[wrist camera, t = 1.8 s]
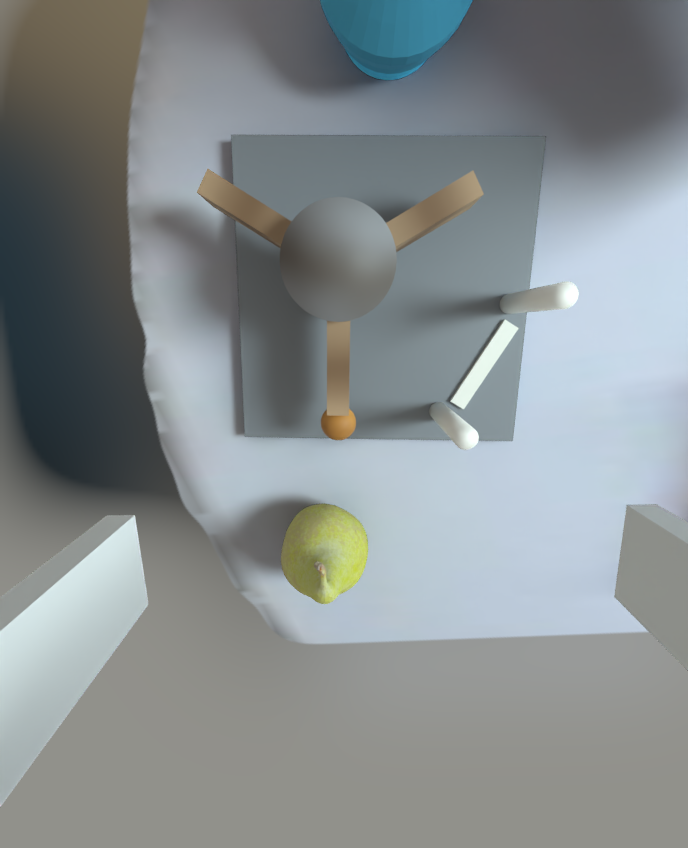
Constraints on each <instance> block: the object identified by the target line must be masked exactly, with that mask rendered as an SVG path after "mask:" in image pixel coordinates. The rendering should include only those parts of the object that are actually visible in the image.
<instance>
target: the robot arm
mask: <svg viewBox="0 0 688 848" xmlns="http://www.w3.org/2000/svg"><path fill="white" fill-rule="evenodd" d="M614 597H615V598H616V599H617V600H618V601H619V602H620V603H621V604H622V605H623V606H624V607H625V608H626V609H627V610H628V611H629V612H630V613H631V614H632V615H633V616H634V617H635V618H636V619H637V620H638V621H639V622H640V623H641V624H642V625H643V626H644V627H645V628H646V629H647V630H648V631H649V632H650V633H651V634H652V635H653V636H654V637H655V638H656V639H657V640H658V642H659V643H661V644H662V646H663V647H664V648H665V649H666V650H667V651H668V652H669V653H670V654H672V656H673V657H675V659H676V660H677V661H678V662H679V663H680V664H681V665H682V666H683V667H684V668H685V669H686V670H687V671H688V522H686V521H685V520H683V519H681V518H679V517H678V516H676V515H674V514H672V513H671V512H669V511H667V510H665V509H664V508H662V507H660V506H658V505H657V504H648V505H627V507H626V515H625V522H624V530H623V537H622V545H621V552H620V559H619V567H618V574H617V582H616V589H615V596H614ZM147 606H148V598H147V592H146V585H145V578H144V572H143V565H142V559H141V552H140V546H139V540H138V533H137V527H136V521H135V515H113V516H106V517H104V518H103V519H102V520H100V521H99V522H98V523H96V524H95V525H94V526H93V527H91V528H90V529H89V530H87V531H86V532H85V533H83V534H82V535H81V536H80V537H78V538H77V539H76V540H74V541H73V542H72V543H70V544H69V545H68V546H66V547H65V548H64V549H63V550H61V551H60V552H59V553H58V554H56V555H55V556H54V557H52V558H51V559H50V560H48V561H47V562H46V563H45V564H43V565H42V566H40V567H39V568H38V569H36V570H35V571H34V572H33V573H31V574H30V575H29V576H27V577H26V578H25V579H23V580H22V581H21V582H20V583H18V584H17V585H16V586H14V587H13V588H12V589H11V590H9V591H8V592H7V593H5V594H4V595H3V596H1V597H0V807H1V805H2V804H3V803H4V801H5V800H6V798H7V797H8V796H9V794H10V793H11V792H12V790H13V789H14V788H15V786H16V784H17V783H18V782H19V781H20V779H21V778H22V776H23V775H24V774H25V772H26V771H27V770H28V768H29V767H30V766H31V764H32V763H33V762H34V760H35V759H36V757H37V756H38V755H39V753H40V752H41V750H42V749H43V748H44V747H45V745H46V744H47V742H48V741H49V740H50V738H51V737H52V736H53V734H54V733H55V731H56V730H57V729H58V727H59V726H60V725H61V723H62V722H63V721H64V719H65V718H66V716H67V715H68V714H69V712H70V711H71V710H72V708H73V707H74V706H75V704H76V703H77V701H78V700H79V699H80V697H81V696H82V695H83V693H84V692H85V691H86V689H87V688H88V686H89V685H90V684H91V682H92V681H93V680H94V678H95V677H96V675H97V674H98V672H99V671H100V670H101V669H102V667H103V666H104V664H105V663H106V662H107V660H108V659H109V658H110V656H111V655H112V654H113V652H114V651H115V650H116V648H117V647H118V645H119V644H120V643H121V641H122V640H123V639H124V637H125V636H126V634H127V633H128V632H129V630H130V629H131V628H132V626H133V625H134V624H135V622H136V621H137V619H138V618H139V617H140V615H141V614H142V612H143V611H144V610H145V609H146V607H147Z"/></svg>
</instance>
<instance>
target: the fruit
mask: <svg viewBox="0 0 688 848" xmlns="http://www.w3.org/2000/svg"><path fill="white" fill-rule="evenodd" d="M367 555H368V540H367V535H366V532H365V530H364V528H363V526H362V524H361V523H360V522H359V521H358V519H356V518H355V517H354V516H353V515H352V514H350V513H349V512H347V511H345V510H343V509H341V508H339V507H337V506H335V505H329V504H316V505H311V506H308V507H306V508H304V509H303V510H301V511H300V512H299V513H298V514H297V515H296V516H295V517H294V519H293V520H292V522H291V523H290V525H289V527H288V529H287V532H286V535H285V538H284V542H283V546H282V552H281V565H282V570H283V572H284V575H285V577H286V579H287V580H288V581H289V583H290V584H291V585H292V586H293V587H294V588H295V589H296V590H298V591H299V592H300V593H302V594H304V595H307V596H309V597H311V598H312V599H314V600H315V601H316V602H318V603H321V604H328V603H330V602H332V601H333V600H334V599H335V598H336V597H337V596H338V595H339V594H341V593H343V592H345V591H347V590H349V589H350V588H352V587H353V586H354V585H355V584H356V583H357V582H358V580H359V578H360V577H361V575H362V573H363V571H364V568H365V565H366V561H367Z"/></svg>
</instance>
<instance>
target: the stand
mask: <svg viewBox="0 0 688 848" xmlns="http://www.w3.org/2000/svg"><path fill="white" fill-rule="evenodd" d="M545 141H546V136H388V135H231V143H232V165H233V185H234V186H236V187H238V188H239V189H241V190H242V191H244V192H246V193H247V194H249V195H250V196H252V197H254V198H255V199H257V200H258V201H260V202H261V203H263V204H265V205H266V206H268V207H269V208H271V209H273V210H274V211H276V212H277V213H279V214H280V215H282V216H284V217H285V218H287V219H288V220H290V221H292V220H293V219H294V218H295V217H296V215H297V214H299V213H300V212H301V211H302V210H303V209H304V208H306V207H307V206H308V205H310V204H312V203H314V202H316V201H319V200H322V199H325V198H330V197H346V198H351V199H355V200H357V201H360V202H362V203H364V204H366V205H368V206H369V207H371V208H372V209H373V210H375V211H376V212H377V213H378V214H379V215H380V216H381V217H382V219H383V220H384V221H385V223H387V222H389V221H390V220H392V219H394V218H395V217H397V216H398V215H400V214H402V213H403V212H405V211H407V210H408V209H410V208H412V207H413V206H415V205H417V204H418V203H420V202H422V201H423V200H425V199H427V198H428V197H430V196H432V195H433V194H435V193H436V192H438V191H440V190H441V189H443V188H445V187H446V186H448V185H450V184H451V183H453V182H455V181H456V180H458V179H460V178H461V177H463V176H465V175H466V174H468V173H470V172H471V171H474V173H475V175H476V177H477V180H478V182H479V184H480V186H481V189H482V191H483V193H484V195H483V196H482V197H481V198H480V199H479V200H478V201H477V202H476V203H475V204H474V205H473V206H472V207H471V208H470V209H469V210H467V211H465V212H464V213H462V214H460V215H458V216H457V217H455V218H453V219H452V220H450V221H448V222H447V223H445V224H443V225H442V226H440V227H438V228H437V229H435V230H433V231H432V232H430V233H428V234H426V235H425V236H423V237H421V238H420V239H418V240H416V241H415V242H413V243H411V244H410V245H408V246H406V247H405V248H403V249H401V250H399V251H398V252H396V254H397V264H396V272H395V276H394V280H393V282H392V285H391V287H390V289H389V291H388V293H387V294H386V296H385V297H384V299H383V300H382V301H381V302H380V303H379V305H377V306H376V307H375V308H374V309H373V310H372V311H370V312H369V313H367V314H366V315H364V316H362V317H360V318H357V319H354V320H350V377H349V409H350V410H351V411H352V412H353V413H354V415H355V418H356V427H355V430H354V432H353V433H352V434H351V435H350V436H349V437H348V438H347V439H409V440H452V441H453V442H454V443H455V444H456V445H457V446H458V447H459V448H460V449H463V450H468V449H471V448H473V447H474V446H475V445H476V444H477V443H478V441H513V434H514V425H515V416H516V407H517V397H518V388H519V379H520V370H521V361H522V352H523V343H524V333H525V324H526V315H527V312H536V311H547V310H559V309H567V308H570V307H571V306H573V305H574V304H575V303H576V301H577V299H578V289H577V287H576V286H575V285H574V284H573V283H571V282H562V283H557V284H552V285H548V286H543V287H538V288H534V289H529V288H530V279H531V269H532V260H533V251H534V242H535V233H536V224H537V214H538V205H539V196H540V187H541V178H542V169H543V160H544V150H545ZM235 232H236V254H237V276H238V298H239V321H240V343H241V365H242V387H243V409H244V431H245V437H285V438H329V437H328V436H326V435H325V433H324V432H323V430H322V428H321V417H322V415H323V413H324V412H325V411H326V409H327V320H323V319H320V318H317V317H315V316H313V315H311V314H309V313H308V312H306V311H305V310H303V309H302V308H301V307H300V306H299V305H298V304H297V303H296V302H295V301H294V300H293V298H292V297H291V295H290V294H289V292H288V291H287V288H286V286H285V284H284V281H283V278H282V275H281V270H280V249H281V248H279V247H277V246H276V245H274V244H272V243H271V242H269V241H268V240H266V239H264V238H263V237H261V236H260V235H258V234H256V233H255V232H253V231H251V230H250V229H248V228H247V227H245V226H243V225H242V224H240V223H239V222H237V221H235Z"/></svg>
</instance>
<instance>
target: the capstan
mask: <svg viewBox="0 0 688 848" xmlns="http://www.w3.org/2000/svg"><path fill="white" fill-rule="evenodd" d="M197 193H198V194H199V195H201V196H202V197H203V198H204V199H205V200H206V201H207V202H209V203H210V204H211V205H212V206H213V207H214V208H216V209H218V210H219V211H221V212H222V213H224V214H226V215H227V216H229V217H231V218H232V219H234V220H235V221H237V222H239V223H240V224H242V225H243V226H245V227H247V228H248V229H250V230H251V231H253V232H255V233H256V234H258V235H260V236H261V237H263V238H264V239H266V240H268V241H269V242H271V243H272V244H274V245H276V246H277V247H279V248H281V249H280V270H281V275H282V278H283V281H284V284H285V286H286V288H287V291H288V292H289V294H290V295H291V297H292V298H293V300H294V301H295V302H296V303H297V304H298V305H299V306H300V307H301V308H302V309H303V310H305V311H306V312H308V313H309V314H311V315H313V316H315V317H317V318H320V319H323V320H327V409H326V411H325V412H324V413H323V415H322V417H321V428H322V430H323V432H324V433H325V435H326V436H328V437H329V438H331V439H333V440H343V439H346V438H348V437H349V436H350V435H351V434H352V433H353V432H354V430H355V427H356V418H355V415H354V413H353V412H352V411H351V410H350V409H349V377H350V320H354V319H357V318H360V317H362V316H364V315H366V314H367V313H369V312H370V311H372V310H373V309H374V308H375V307H376V306H377V305H379V303H380V302H381V301H382V300H383V299H384V297H385V296H386V294H387V293H388V291H389V289H390V287H391V285H392V282H393V280H394V276H395V272H396V264H397V254H396V252H398V251H399V250H401V249H403V248H405V247H406V246H408V245H410V244H411V243H413V242H415V241H416V240H418V239H420V238H421V237H423V236H425V235H426V234H428V233H430V232H432V231H433V230H435V229H437V228H438V227H440V226H442V225H443V224H445V223H447V222H448V221H450V220H452V219H453V218H455V217H457V216H458V215H460V214H462V213H464V212H465V211H467V210H469V209H470V208H471V207H472V206H473V205H474V204H475V203H476V202H477V201H478V200H479V199H480V198H481V197H482V196H483V195H484V193H483V191H482V189H481V186H480V184H479V182H478V180H477V177H476V175H475V173H474V171H471V172H470V173H468V174H466V175H465V176H463V177H461V178H460V179H458V180H456V181H455V182H453V183H451V184H450V185H448V186H446V187H445V188H443V189H441V190H440V191H438V192H436V193H435V194H433V195H432V196H430V197H428V198H427V199H425V200H423V201H422V202H420V203H418V204H417V205H415V206H413V207H412V208H410V209H408V210H407V211H405V212H403V213H402V214H400V215H398V216H397V217H395V218H394V219H392V220H390V221H389V222H387V223H385V221H384V220H383V219H382V217H381V216H380V215H379V214H378V213H377V212H376V211H375V210H373V209H372V208H371V207H369V206H368V205H366V204H364V203H362V202H360V201H357V200H355V199H351V198H346V197H330V198H325V199H322V200H319V201H316V202H314V203H312V204H310V205H308V206H307V207H306V208H304V209H303V210H302V211H301V212H300V213H299V214H297V215H296V217H295V218H294V219H293V220H292V221H290V220H288V219H287V218H285V217H284V216H282V215H280V214H279V213H277V212H276V211H274V210H273V209H271V208H269V207H268V206H266V205H265V204H263V203H261V202H260V201H258V200H257V199H255V198H254V197H252V196H250V195H249V194H247V193H246V192H244V191H242V190H241V189H239V188H238V187H236V186H234V185H233V184H231V183H230V182H228V181H227V180H225V179H223V178H222V177H220V176H219V175H217V174H215V173H214V172H212V171H211V170H209V169H207V171H206V173H205V176H204V178H203V180H202V182H201V184H200V187H199V189H198V191H197Z"/></svg>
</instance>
